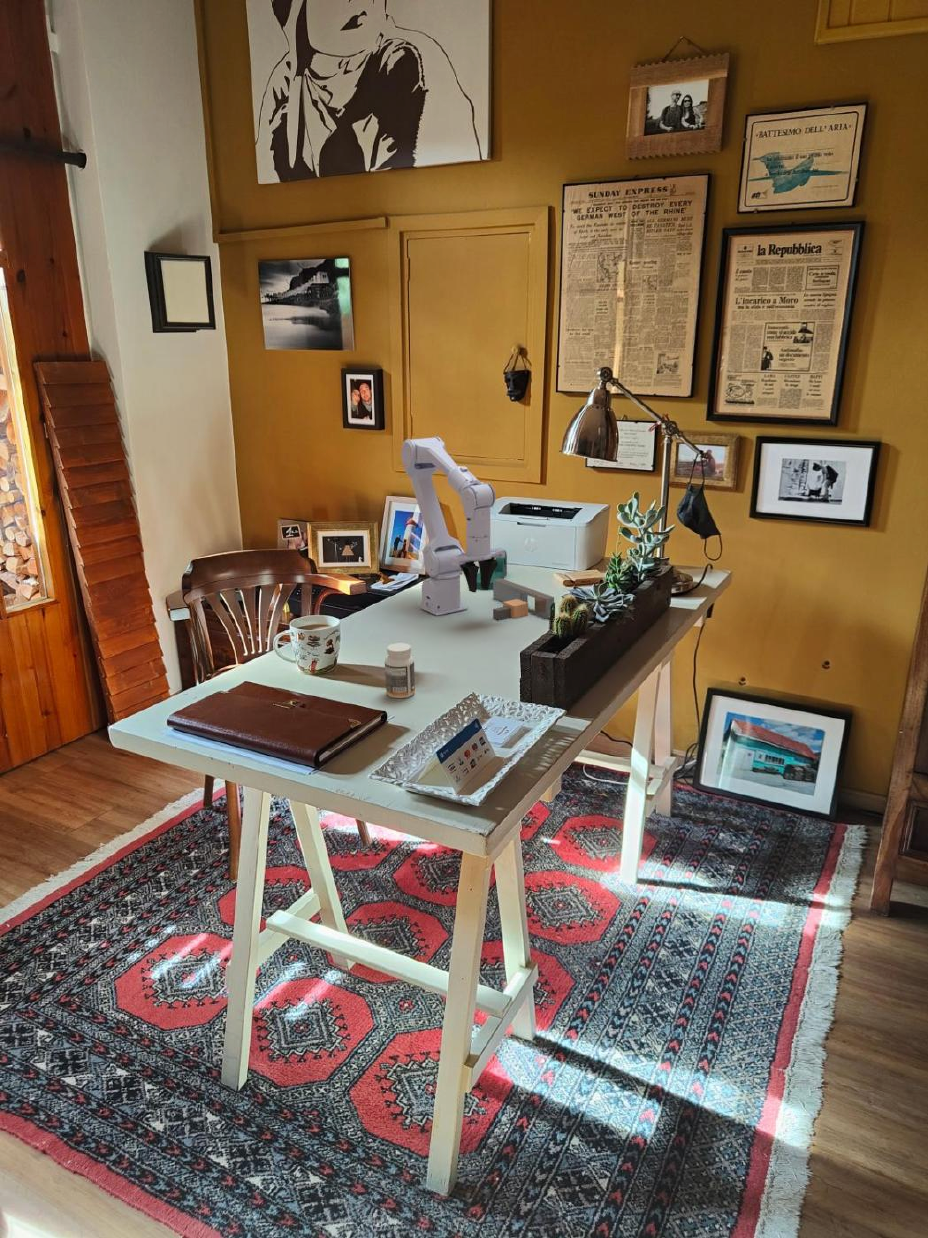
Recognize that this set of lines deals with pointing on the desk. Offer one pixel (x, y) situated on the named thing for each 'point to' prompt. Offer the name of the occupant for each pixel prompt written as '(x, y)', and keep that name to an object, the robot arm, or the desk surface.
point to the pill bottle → (399, 671)
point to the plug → (511, 609)
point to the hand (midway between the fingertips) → (478, 590)
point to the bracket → (495, 572)
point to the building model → (522, 596)
